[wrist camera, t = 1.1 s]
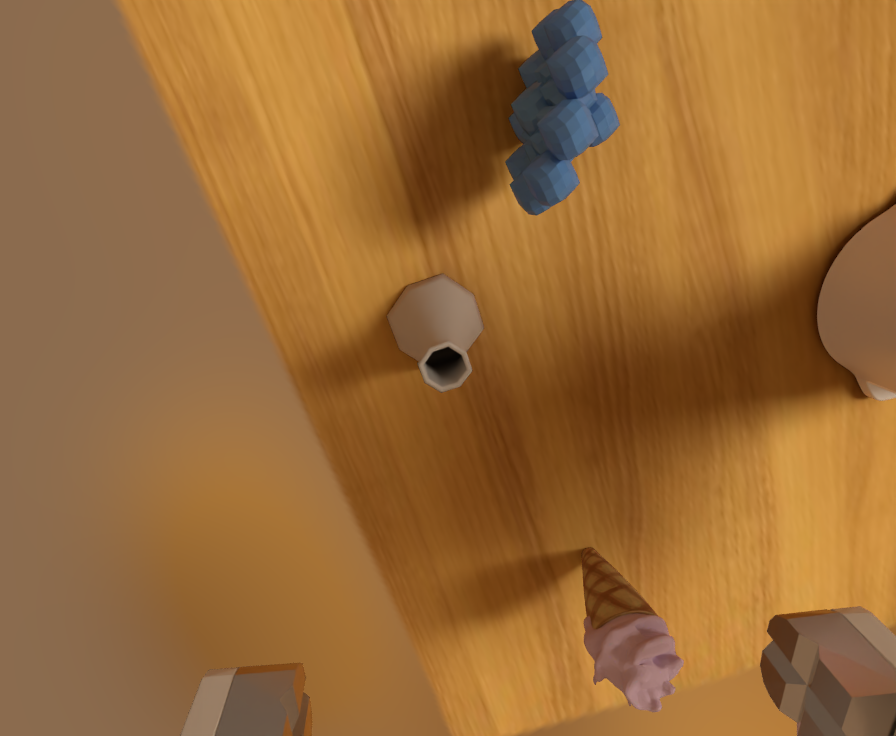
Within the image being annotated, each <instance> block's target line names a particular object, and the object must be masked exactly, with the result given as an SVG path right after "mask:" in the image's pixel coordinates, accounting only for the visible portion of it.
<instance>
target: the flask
mask: <svg viewBox="0 0 896 736" xmlns="http://www.w3.org/2000/svg"><path fill="white" fill-rule="evenodd" d="M387 319H388V321H389V324H390V327H391V329H392V332H393V334H394V337H395V340H396V342H397V345H398V347H399V349H400V350H401V351H403V352H404V353H406V354H408V355H409V356H411V357H412V358H414V359H416V360H417V361H419V362H418V367H419V369H420V372H421V375H422V377H423V380H424V383H426V384H428V385H429V386H431V387H433V388H434V389H436V390H437V391H439V392H441V393H442V392H445V391H448V390H451V389H454V388H457V387H460V386H461V385H462V384H463V383H464V381H465V380H466V379H467V377H468V376H469V375H470V373H471V372H472V367H471V364H470V361H469V358H468V355H467V351H468V349H469V348H470V347H471V345H472V344H473V343H474V341H475V340H476V339H477V337H478V336H479V335H480V333H481V332H482V331H483V329H484V325H483V322H482V319H481V316H480V313H479V309H478V306H477V303H476V300H475V297H474V294H473V293H471V292H470V291H468V290H467V289H465V288H464V287H462V286H461V285H459V284H458V283H456V282H455V281H454V280H452V279H451V278H449V277H448V276H446V275H445V274H440V275H437V276H434V277H431V278H428V279H425V280H422V281H420V282H417V283H414V284H411V285H408V286H407V287H406V288H405V290H404V291H403V293H402V294H401V296H400V297H399V299H398V300H397V301H396V303H395V304H394V306H393V307H392V309H391V310H390V312H389V313H388V315H387Z"/></svg>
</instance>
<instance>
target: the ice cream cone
mask: <svg viewBox="0 0 896 736" xmlns="http://www.w3.org/2000/svg"><path fill="white" fill-rule="evenodd" d="M582 569H583V586H584V597H585V606H586V614H587V617H586V618H585V619H584V628H585V635H584V644H585V647H586V649H587V651H588V652H589V654H590V655H591V656H592V658H593V659H594V661H595V665H594V668H595V675H594V677H593V681H594V684H595V685H596V682H597V681H598V682H600V681H602V680H603V679H604V678H607V679H608V680H609V681H610V682H612V683H613V684H614V685H615V686H616V687H617V688H618V689H620V690H621V691H622V692H623V693H624V695H625V696H626V698H627V700H628V703H629V706H631V704H632V705H633V706H634V707H635V708H637V709H639V710H648V711H651V712H658V711H660V710H661V708H662V705H661V702H660V698H661V697H664V696H667V695H671V694H673V693H674V692H675V687H674V686H673V685H672V684H671V683H670V682H669V681H670V680H671V679H673V678H674V677H675V676H676V675H677V674H678V672H679V670H680V669H681V667H682V666H683V664H684V661H683V660H682V659H681V658H680V657H678V656H677V655H676V652H675V641H674V639H673V637H672V636H670V635H669V633H668V628H667V626H666V623H665V621H664V620H663V619H662V618H660V617H659V616H658V615H657V614H656V613H655V612H654V610H653V609H652V608H651V607H650V606H649V604H648V603H647V602H646V601H645V600H644V598H643V597H642V596H641V595H640V594H639V593H638V592H637V591H636V590H635V589H634V588H633V587H632V585H631V584H630V583H629V582H628V581H627V580H626V579H625V578H624V577H623V576H622V575H621V574H620V573H619V572H618V571H617V570H616V569H615V568H614V567H613V566H611V565H610V564H609V563H608V562H607V561H606V560H605V559H604V558H603V557H602V556H601V555H600V554H599V553H598V552H597V551H595V550H594V549H593V548H587V549H585V550H583V552H582Z"/></svg>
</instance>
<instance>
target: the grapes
mask: <svg viewBox="0 0 896 736" xmlns="http://www.w3.org/2000/svg"><path fill="white" fill-rule="evenodd" d="M532 34H533V37H534V40H535V42H536V44H537V46H538V48H539V50H538V51H536V52H535V53H534V54H533V55H531V56H530V57H529V58H528V59H527V60H526V61H525V62H524V63H523V64H522V65H521V66H520V68H519V69H518V70H519V72H520V75H521V77H522V80H523V82H524V84H525V86H526V88H527V89H525V90H524V91H523V92H522V93H521V94H520V95H519V96H518V97H517V98H516V100H515V101H514V102H513V103H512V104H511V106H512V108H513V111H514V113H513V114H512V115H511V116H510V117H509V121H510V123H511V126H512V128H513V130H514V132H515V134H516V136H517V137H518V139H519V140H520V141H521V142H522V143H523V145H522V146H521V147H519V148H518V149H517V150H516V151H515V152H514V153H513V154H512V155H511V156H510V157H509V158H508V159H507V160H506V162H505V163H506V165H507V167H508V170H509V172H510V174H511V176H512V178H513V180H514V181H513V182H512V183H511V184H510V186H511V189H512V191H513V193H514V195H515V197H516V199H517V201H518V203H519V204H520V206H521V207H522V208H523V209H524V210H525V211H526V212H527V213H528V214H531V215H538V214H540V213H542V212H544V211H546V210H547V209H549V208H550V207H551V206H553V205H555V204H557V203H559V202H561V201H562V200H564V199H566V198H567V196H568V195H569V194H570V193H571V192H572V191H573V190H574V189H575V188H576V187H577V186H578V184H579V183H580V182H579V179H578V177H577V174H576V172H575V170H574V168H573V166H572V164H571V161H572V160H573V159H574V158H575V157H577V156H578V155H580V154H581V153H583V152H584V151H585V150H586V149H587V148H588V147H594V146H597V145H599V144H600V143H602V142H604V141H605V140H607V139H608V138H609V137H610V136H611V135H612V134H613V132H614V131H615V130H616V129H617V128H618V127H619V126H620V124H619V120H618V117H617V114H616V111H615V109H614V107H613V105H612V103H611V101H610V99H609V98H608V97H607V96H605V95H604V94H603V93H595V88H596V87H597V86H598V85H599V84H600V83H601V82H602V81H603V80H604V78H605V77H606V76H607V75H608V71H607V68H606V64H605V61H604V59H603V56H602V53H601V51H600V49H599V47H598V45H597V43H598V42H599V41H600V39H601V38H602V35H601V31H600V28H599V24H598V22H597V19H596V16H595V14H594V12H593V10H592V8H591V6H590V5H588V4H587V3H585V2H584V1H582V0H572V1H568V2H567V3H566V4H564V5H563V6H562V7H561V8H559V9H555V10H553V11H552V12H551V13H550V14H549V15H547V16H546V17H545V18H544V19H543V20H542V21H541V22H539V24H538V25H537V26H536V27H535V28H534V29H533V30H532Z"/></svg>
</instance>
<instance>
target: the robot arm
mask: <svg viewBox="0 0 896 736" xmlns="http://www.w3.org/2000/svg"><path fill="white" fill-rule="evenodd" d="M817 323H818V330H819V334H820V337H821V340H822V343H823V345H824V347H825V348H826V350H827V351H828V353H829V354H830V355H831V357H832V358H833V359H834V360H835V361H837V362H838V363H839V364H841V365H842V366H844V367H845V368H847V369H848V370H850V371H851V372H852V373H853V374H854V375H855V377H856V379H857V381H858V384H859V386H860V388H861V390H862V391H863V393H864V394H865V395H866V396H868V397H870V398H873V399H876V400H879V401H883V400H888V399H892V398H896V204H895V205H894V206H892V207H891V208H890V209H888V210H887V211H885V212H884V213H882V214H881V215H879V216H878V217H876V218H875V219H873V220H872V221H871V222H869V223H868V224H867V225H866V226H864V227H863V228H862V229H861V230H860V231H859V232H858V233H856V234H855V235H854V236H853V237H852V239H851V240H850V241H849V242H848V243H847V244H846V245H845V246H844V248H843V249H842V250H841V252H840V253H839V254H838V256H837V257H836V259H835V261H834V262H833V264H832V266H831V267H830V269H829V271H828V273H827V276H826V278H825V280H824V283H823V285H822V289H821V292H820V296H819V301H818V309H817ZM767 632H768V634H769V635H770V636H771V638H772V639H773V641H772V642H771V643H770V644H769V645H768V646H767V647H766V648H765V649H764V650H763V651H762V657H761V663H760V668H761V672H762V677H763V682H764V684H765V687H766V689H767V691H768V693H769V695H770V697H771V698H772V700H773V702H774V703H775V705H776V706H777V708H778V709H779V711H781V712H782V713H784V714H785V715H787V716H788V717H790V718H791V719H793V720H794V721H796V722H797V736H896V636H895V635H894V634H893V633H892V632H891V631H890V630H889V629H888V628H887V627H886V626H885V625H884V624H882V623H881V622H880V621H879V620H878V619H877V618H876V617H875V616H874V615H873V614H872V613H871V612H870V611H868V610H866V609H864V608H862V607H860V606H859V607H849V608H839V609H831V610H827V609H825V610H816V611H807V612H798V613H789V614H780V615H775V616H774V617H773V618H772V619H771V620H770V621H769V625H768V629H767ZM305 680H306V676H305V672H304V667H303V664H302V663H290V664H275V665H261V666H247V667H238V668H225V669H212V670H208V672H207V673H206V674H205V676H204V677H203V679H202V680H201V682H200V685H199V688H198V690H197V693H196V695H195V698H194V700H193V703H192V706H191V708H190V711H189V713H188V716H187V719H186V721H185V724H184V727H183V729H182V732H181V734H180V736H312V709H311V702H310V697H309V696H308V695H307V694H305V693H304V692H303V691H304V686H305Z"/></svg>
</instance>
